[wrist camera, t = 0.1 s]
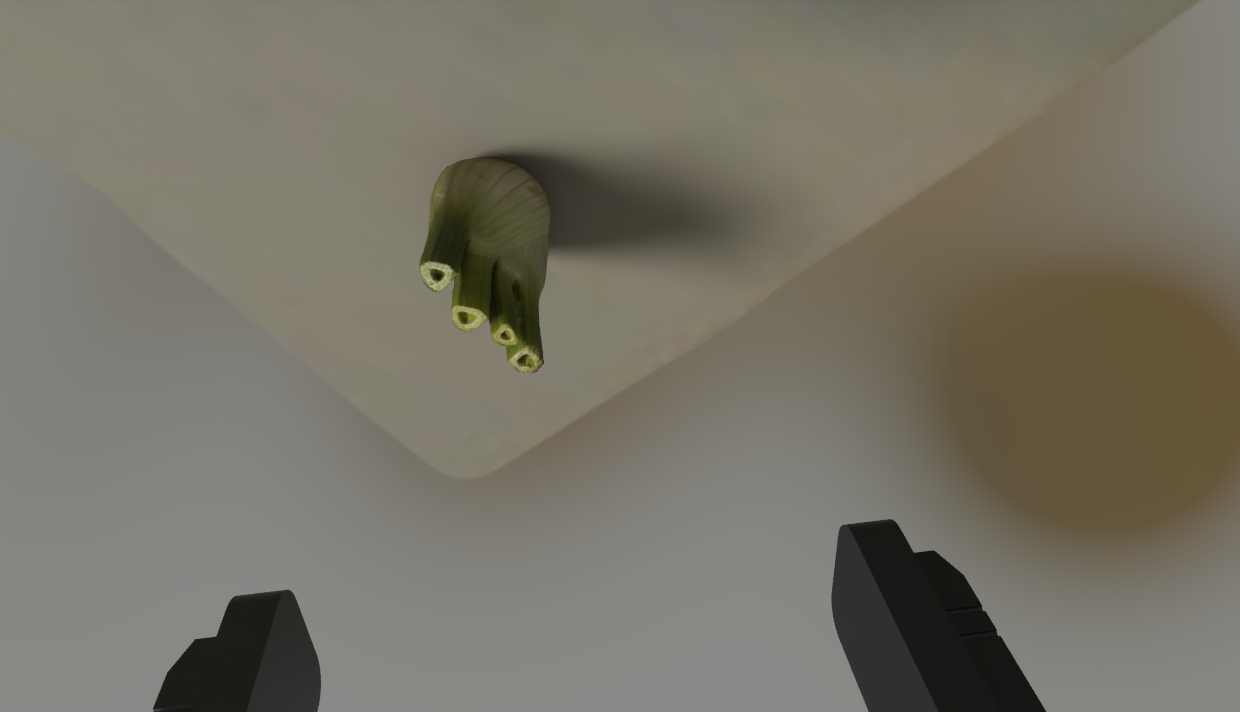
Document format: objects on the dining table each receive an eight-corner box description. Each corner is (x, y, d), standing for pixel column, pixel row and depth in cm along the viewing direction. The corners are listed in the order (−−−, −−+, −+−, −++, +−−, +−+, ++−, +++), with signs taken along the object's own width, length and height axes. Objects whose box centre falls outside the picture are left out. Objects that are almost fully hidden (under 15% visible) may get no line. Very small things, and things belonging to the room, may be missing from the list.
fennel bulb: (425, 152, 38) (395, 270, 28) (531, 127, 38) (540, 236, 28) (463, 265, 41) (449, 408, 31) (561, 242, 41) (579, 378, 31)
